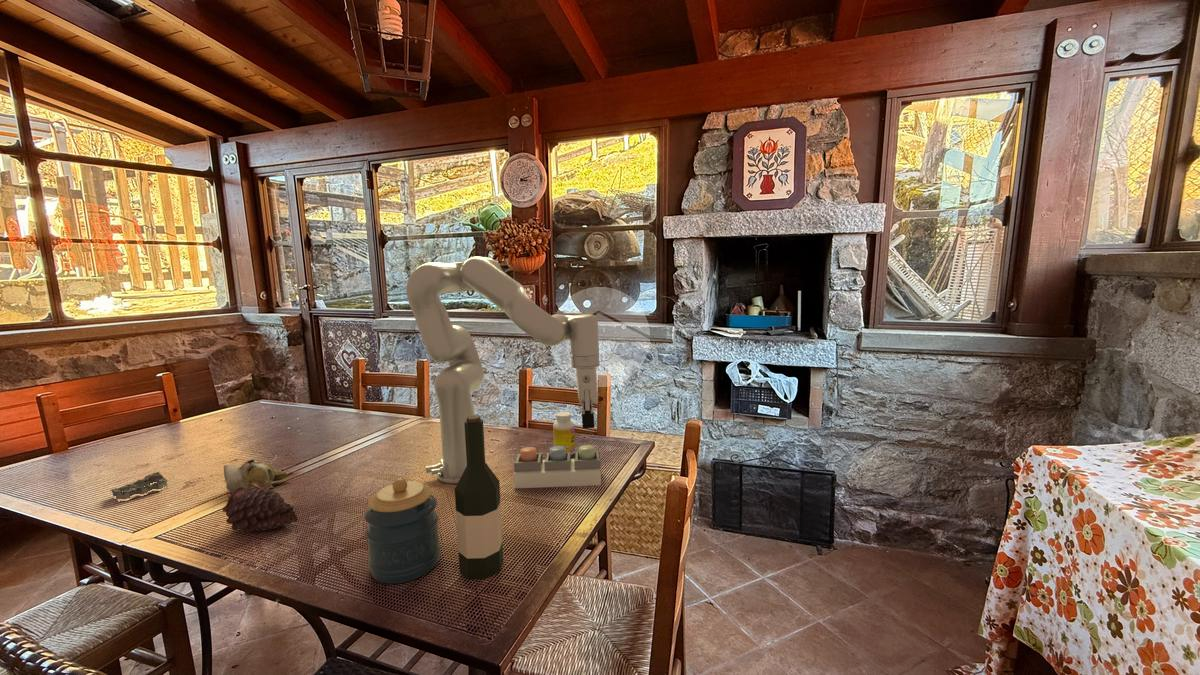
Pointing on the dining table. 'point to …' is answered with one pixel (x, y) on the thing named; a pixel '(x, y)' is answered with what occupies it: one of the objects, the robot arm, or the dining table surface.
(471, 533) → the wine bottle
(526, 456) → the terracotta button
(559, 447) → the slate button
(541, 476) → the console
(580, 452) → the sage button
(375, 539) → the canister
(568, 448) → the supplement bottle
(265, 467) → the ceramic sculpture
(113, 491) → the tree bark piece
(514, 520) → the dining table surface
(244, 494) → the pine cone
